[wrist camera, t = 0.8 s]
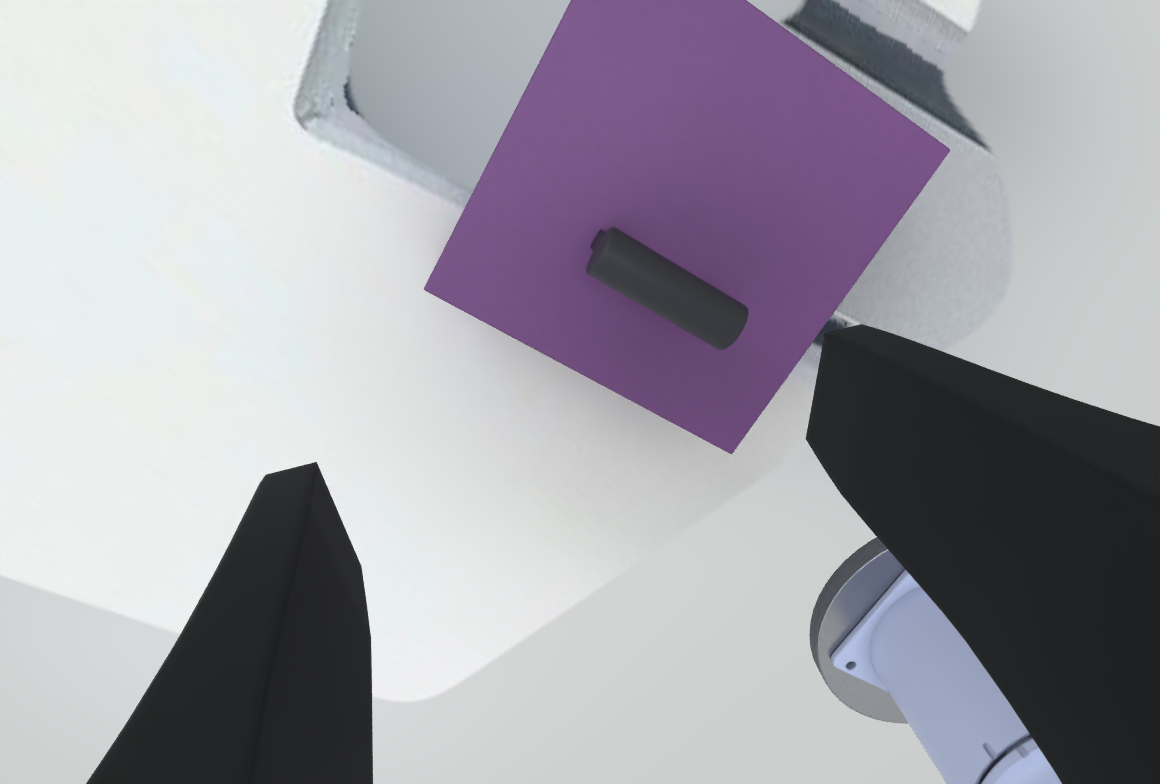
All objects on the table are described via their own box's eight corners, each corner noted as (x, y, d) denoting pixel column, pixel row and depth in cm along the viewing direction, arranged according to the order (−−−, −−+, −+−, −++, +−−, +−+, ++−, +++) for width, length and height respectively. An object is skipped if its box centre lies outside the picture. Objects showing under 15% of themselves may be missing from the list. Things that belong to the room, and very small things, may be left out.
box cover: (616, -88, 20) (637, -145, 16) (941, 149, 23) (1029, 152, 19) (425, 286, 24) (402, 317, 20) (728, 448, 27) (762, 505, 23)
